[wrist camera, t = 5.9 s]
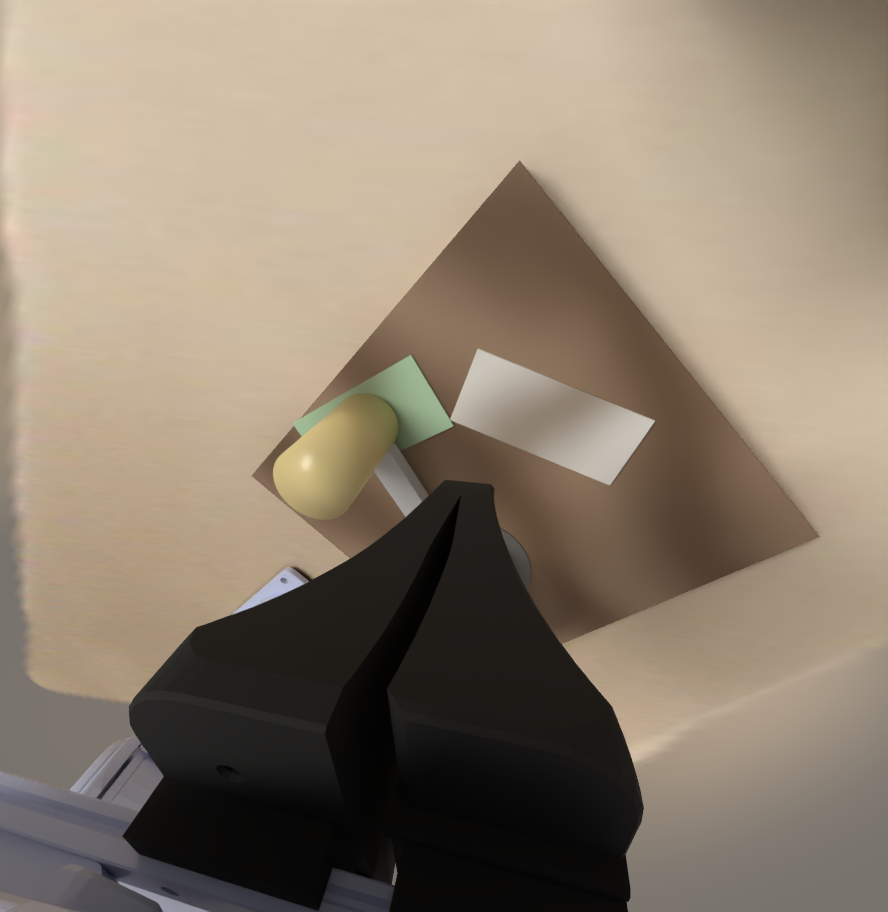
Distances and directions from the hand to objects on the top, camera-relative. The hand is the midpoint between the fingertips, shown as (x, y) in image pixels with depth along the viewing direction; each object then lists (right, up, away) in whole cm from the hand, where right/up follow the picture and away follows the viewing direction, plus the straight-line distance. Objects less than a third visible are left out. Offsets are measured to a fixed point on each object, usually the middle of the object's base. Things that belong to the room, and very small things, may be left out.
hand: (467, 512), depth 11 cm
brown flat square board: (+2, 0, +9) cm, 9 cm away
